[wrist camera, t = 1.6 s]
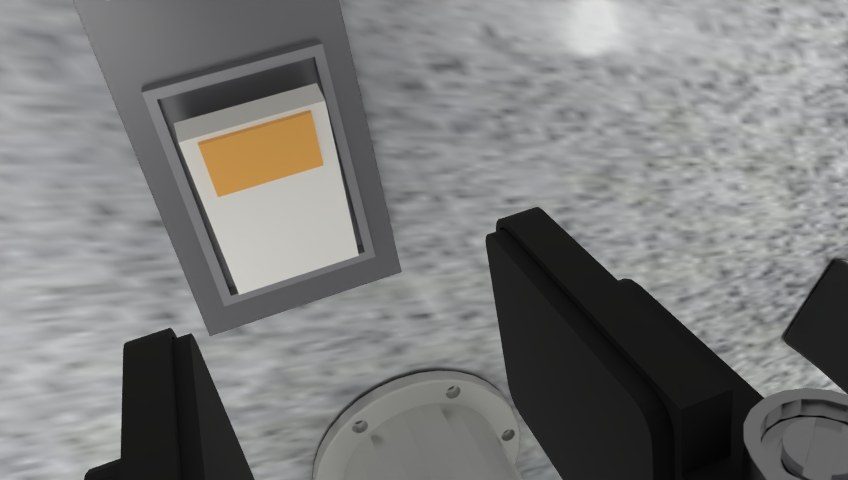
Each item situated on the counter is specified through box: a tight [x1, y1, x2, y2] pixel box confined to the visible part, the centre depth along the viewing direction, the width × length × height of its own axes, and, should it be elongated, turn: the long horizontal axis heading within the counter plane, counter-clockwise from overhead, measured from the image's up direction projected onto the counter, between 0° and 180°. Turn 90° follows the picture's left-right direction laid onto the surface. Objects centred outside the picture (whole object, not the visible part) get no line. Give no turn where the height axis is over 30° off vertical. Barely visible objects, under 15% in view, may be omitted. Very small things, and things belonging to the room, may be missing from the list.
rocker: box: [174, 83, 359, 295], centre depth 30 cm, size 8×5×1 cm, turn 10°
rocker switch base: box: [73, 0, 401, 336], centre depth 29 cm, size 26×9×4 cm, turn 10°
